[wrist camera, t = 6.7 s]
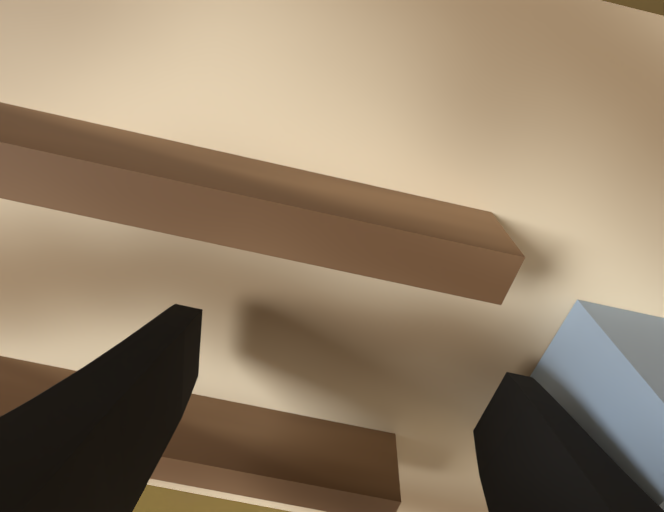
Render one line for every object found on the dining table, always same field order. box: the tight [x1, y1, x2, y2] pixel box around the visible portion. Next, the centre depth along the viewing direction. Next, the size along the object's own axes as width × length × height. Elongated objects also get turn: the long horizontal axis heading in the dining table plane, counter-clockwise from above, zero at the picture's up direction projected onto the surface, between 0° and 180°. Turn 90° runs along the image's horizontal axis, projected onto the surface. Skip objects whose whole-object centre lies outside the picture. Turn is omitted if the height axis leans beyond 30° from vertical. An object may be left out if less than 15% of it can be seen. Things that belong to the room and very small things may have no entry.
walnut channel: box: [0, 102, 525, 512], centre depth 9 cm, size 8×13×2 cm, turn 78°
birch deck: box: [0, 0, 664, 512], centre depth 11 cm, size 16×36×2 cm, turn 78°
